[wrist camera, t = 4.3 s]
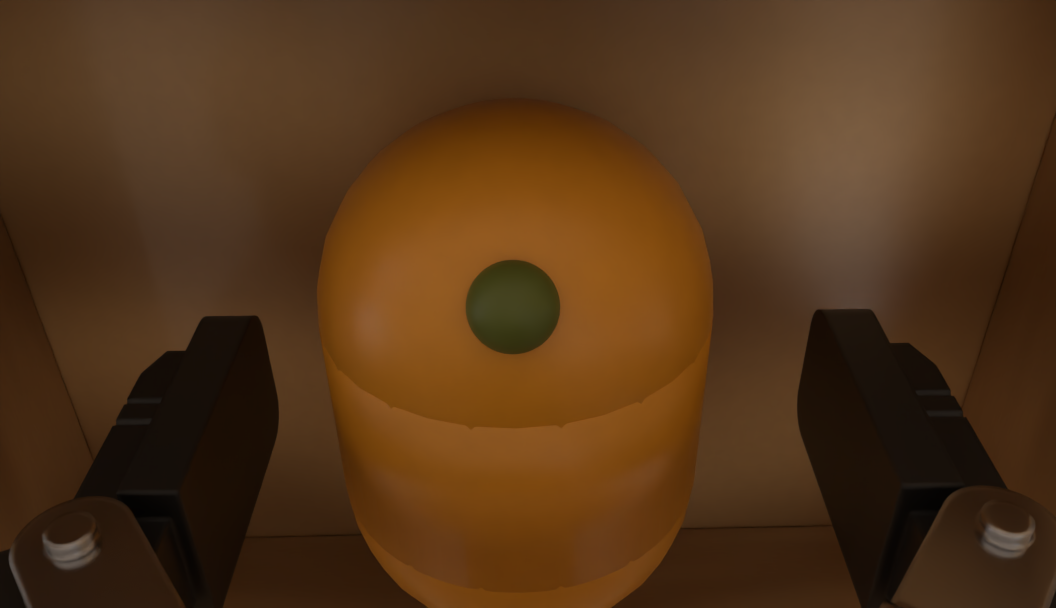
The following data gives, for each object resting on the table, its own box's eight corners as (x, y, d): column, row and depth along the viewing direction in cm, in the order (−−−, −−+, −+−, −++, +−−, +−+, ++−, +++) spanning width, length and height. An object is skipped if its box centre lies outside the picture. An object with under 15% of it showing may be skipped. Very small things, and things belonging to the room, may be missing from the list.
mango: (660, 454, 18) (707, 717, 13) (384, 460, 18) (341, 724, 13) (696, 37, 13) (785, 226, 9) (326, 44, 13) (233, 238, 9)
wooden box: (-167, -177, 12) (-536, -84, 8) (1178, -203, 12) (1537, -124, 8) (108, 535, 20) (-4, 781, 16) (939, 519, 20) (1057, 759, 16)
